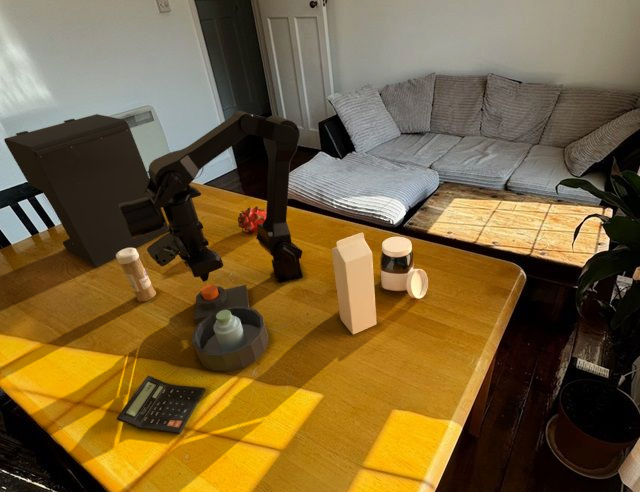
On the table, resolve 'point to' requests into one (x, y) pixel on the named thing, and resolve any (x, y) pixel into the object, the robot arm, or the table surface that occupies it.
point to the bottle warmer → (235, 358)
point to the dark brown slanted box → (87, 181)
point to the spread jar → (401, 268)
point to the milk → (354, 282)
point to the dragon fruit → (251, 219)
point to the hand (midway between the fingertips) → (205, 280)
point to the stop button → (209, 292)
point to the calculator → (161, 406)
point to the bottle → (229, 331)
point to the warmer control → (221, 301)
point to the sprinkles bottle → (136, 274)
